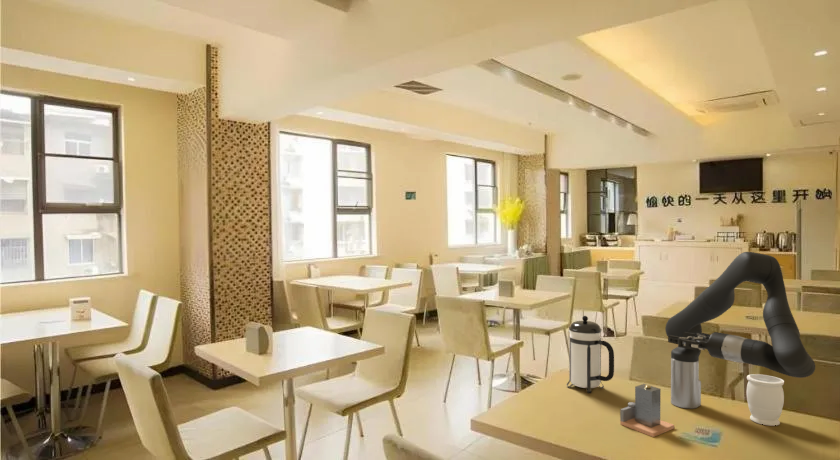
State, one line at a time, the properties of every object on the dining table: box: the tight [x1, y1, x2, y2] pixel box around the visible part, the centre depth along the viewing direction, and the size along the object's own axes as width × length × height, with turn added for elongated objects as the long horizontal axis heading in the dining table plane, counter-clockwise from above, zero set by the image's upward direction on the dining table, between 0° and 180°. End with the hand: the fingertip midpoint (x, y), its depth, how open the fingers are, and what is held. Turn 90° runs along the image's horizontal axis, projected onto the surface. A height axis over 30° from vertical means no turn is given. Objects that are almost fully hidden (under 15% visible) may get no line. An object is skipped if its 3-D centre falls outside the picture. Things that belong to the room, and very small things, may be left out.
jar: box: [746, 373, 785, 427], centre depth 172 cm, size 11×10×15 cm
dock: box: [619, 401, 675, 438], centre depth 168 cm, size 12×13×6 cm
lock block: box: [634, 383, 661, 428], centre depth 168 cm, size 5×6×13 cm
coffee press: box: [566, 315, 615, 394], centre depth 206 cm, size 17×16×30 cm
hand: (676, 336), depth 160 cm, fingers open, 8 cm apart
